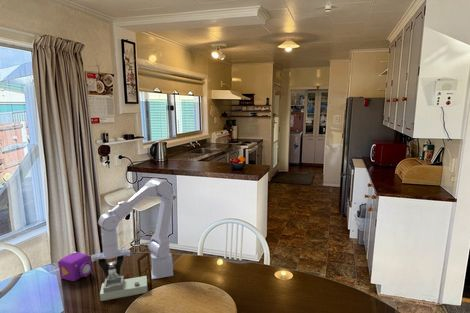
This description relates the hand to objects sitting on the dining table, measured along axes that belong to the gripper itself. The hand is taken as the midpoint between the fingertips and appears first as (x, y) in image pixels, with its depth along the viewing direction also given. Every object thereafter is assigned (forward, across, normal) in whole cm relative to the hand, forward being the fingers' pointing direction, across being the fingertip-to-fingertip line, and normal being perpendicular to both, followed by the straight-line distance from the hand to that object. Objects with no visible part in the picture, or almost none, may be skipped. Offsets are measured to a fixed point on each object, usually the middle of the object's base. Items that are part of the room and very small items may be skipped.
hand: (112, 274), depth 125 cm
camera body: (+8, -4, 0) cm, 9 cm away
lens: (+1, 0, 0) cm, 1 cm away
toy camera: (+9, +17, -19) cm, 27 cm away
